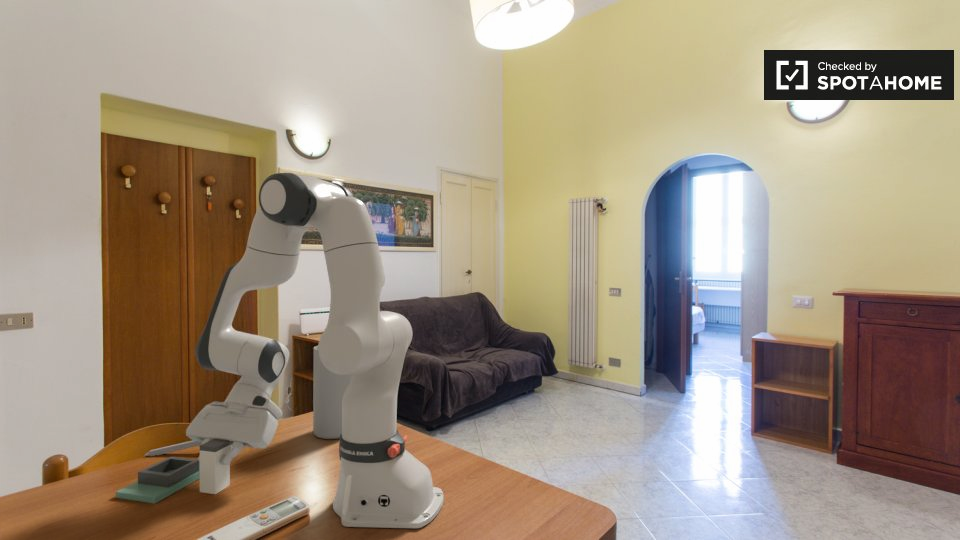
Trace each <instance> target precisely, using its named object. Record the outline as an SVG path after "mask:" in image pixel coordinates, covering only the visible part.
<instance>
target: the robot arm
mask: <svg viewBox="0 0 960 540" xmlns="http://www.w3.org/2000/svg"><path fill="white" fill-rule="evenodd" d="M258 204H259V206H258V208H257V210H256V212H255V215H254V217H253V220H252V223H251V225H250V226H251V227H250V230H249V234H248V238H247V242H246V247H245V248H246V249H245V251H244V254H243V256H242V258H241V259H240V260H239V261H238V262H237V263H234V264H231V265H230V266H229V267H228V269H227V271H225V274H224V276H223V278H222V280H221V282H220V285H219V287H218V290H217V294H216V296H215V299H214V300H213V305H212V307H211V310H210V313H209V316H208V319H207V322H206V324H205V326H204V329H203V330H202V333H201V334H200V336H199V338H198V340H197V343H196V344H195V348H194V356H195V358H196V360H197V362H198V364H199V366H200V367H201V368H203V369H204V370H207V371H208V370H210V371H216V372H225V373H227V374H229V373H230V374H233V375H238V376H241V377H240V379H239V380H237V381H236V383H235V384H234V385H233V386H232V388H231V390H230V392H229V393H228V395H227V396H226V399H225V400H224V401H212V402H209V404H206V405H205V406H204V407H203V408H202V409H201V410H200V411H199V412H198V413H197V415H196V416H195V417H193V419H192V420H191V422H190V423H189V425H188V426H187V428H186V429H185V436H186V437H188V438H189V439H191V441H200V442H202V444H204V443H206V442H209V441H211V440H213V439H219V440H228V441H230V445H232V449H231V450H230V451H229V452H228V453H227V454H223V455H222V456H221V459H220V460H219V463H220V464H221V465H227V466H228V465H229V464H231V462H232V460H233V459H234V458H235V457H237V456H238V455H239V454H240V453H242V451H243V449H244V447H245V448H246V447H247V448H256V449H261V450H263V449H266V448H267V447H268V446H269V445H270V444H271V442H272V441H273V439H274V436H275V435H276V431H277V429H278V427H279V426H278V425H279V421H278V420H280V419H281V418H282V416H283V411H282V410H281V408H280V407H279V406H278V405H277V404H276V403H275V402H274V401H272V400H271V398H272V395H273V394H272V393H273V391H274V390H275V388H276V387H277V386H278V385H279V384H280V382H281V380H282V377H283V375H284V372H285V370H286V368H287V366H288V362H289V359H290V355H291V354H290V350H289V349H288V347H287V346H286V345H284V343H282V342H280V341H278V340H275V339H273V338H269V337H267V336H263V335H258V334H254V333H253V334H252V333H248V332H244V331H239V330H236V329H235V328H234V327H233V321H234V318H235V317H236V312H237V310H238V307H239V306H240V305H239V304H240V302H241V299H242V297H243V296H244V295H245V293H247V292H249V291H255V290H263V289H269V288H274V287H277V286H281V285H283V284H285V283H287V282H288V281H289V280H290V279H291V278H292V277H293V276H294V274H295V273H296V270H297V266H298V263H299V258H300V253H301V248H302V247H301V245H302V239H303V237H304V235H305V233H306V232H308V230H311V229H315V230H316V231H317V232H319V234H320V238H321V243H322V248H323V253H324V260H325V264H326V269H327V275H328V281H329V288H330V304H329V314H328V319H327V324H326V327H325V328H324V331H323V332H322V334H321V336H319V340H318V345H317V346H318V352H319V357H320V359H321V361H322V363H323V365H324V366H325V367H326V368H327V369H328V370H329V371H331V372H333V373H335V374H339V375H350V374H353V375H352V378H351V381H350V383H349V386H348V388H347V389H346V391H345V393H344V395H343V398H342V434H341V435H340V438H339V441H338V442H339V445H338V447H339V448H338V453H339V454H338V456H339V460H340V468H339V476H338V482H337V487H336V491H335V496H334V499H333V501H332V502H333V503H332V509H333V511H334V513H336V515H337V516H339V517H340V521H341V525H342V526H343V527H347V528H349V527H352V528H381V529H383V528H385V529H386V528H387V529H389V528H391V529H420V528H423V527H425V526H426V525H428V524H429V523H431V522H432V521H433V520H434V519H435V518H436V517H437V516H438V514H439V513H440V511H441V509H442V507H443V504H444V500H445V499H444V497H445V496H444V492H443V490H442V489H441V488H440V487H436V486H434V483H433V477H432V473H431V471H430V469H429V468H428V466H426V465H425V464H424V463H422V462H421V461H420V460H419V459H417V458H416V457H415V456H414V455H412V454H411V453H410V452H409V451H408V450H407V449H405V448H406V444H405V443H406V442H407V441H408V440H409V439H408V434H405V435H404V436H402V435H401V434H400V433H399V430H398V429H397V418H398V417H397V413H398V411H397V410H398V394H399V388H400V387H399V386H400V382H401V376H402V373H403V372H402V371H403V367H404V363H405V358H406V354H407V351H408V349H409V347H410V344H411V343H412V341H413V335H414V333H413V328H412V325H411V322H410V321H409V320H408V319H407V318H406V317H405V315H403V314H400V313H399V312H393V311H388V310H381V308H380V306H381V305H380V304H381V293H382V289H383V287H384V285H385V281H386V276H385V270H384V266H383V262H382V257H381V256H382V255H381V251H380V247H379V243H378V238H377V233H376V231H375V227H374V224H373V220H372V218H371V215H370V213H369V211H368V208H367V206H366V204H365V203H364V202H363V201H362V200H361V199H359V198H357V197H354V194H353V193H352V192H351V191H350V190H349V189H347V188H346V187H345V186H343V185H341V184H339V183H337V182H330V181H327V180H324V179H320V178H318V177H315V176H310V175H302V174H295V173H292V172H279V173H278V172H277V173H274V174H271V175H268V176H267V177H266V178H265V179H264V180H263V182H262V183H261V185H260V189H259V191H258ZM197 460H198V461H199V462H200V454H199V456H198V457H197Z"/></svg>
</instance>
